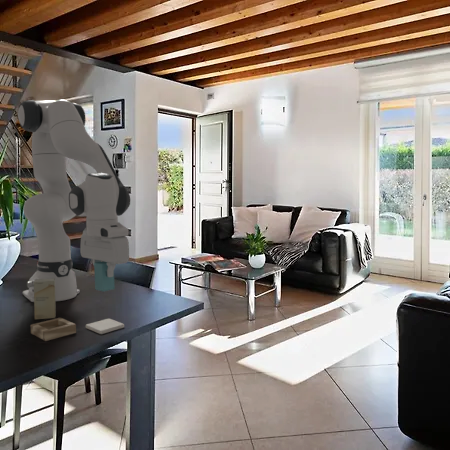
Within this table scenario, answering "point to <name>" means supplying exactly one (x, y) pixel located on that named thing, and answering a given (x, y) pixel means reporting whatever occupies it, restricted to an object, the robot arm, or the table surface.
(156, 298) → the table surface
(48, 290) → the skincare box
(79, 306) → the table surface
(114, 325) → the ceramic tile
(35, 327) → the pocket holder
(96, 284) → the teal bar
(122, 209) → the robot arm
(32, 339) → the table surface
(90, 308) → the table surface
